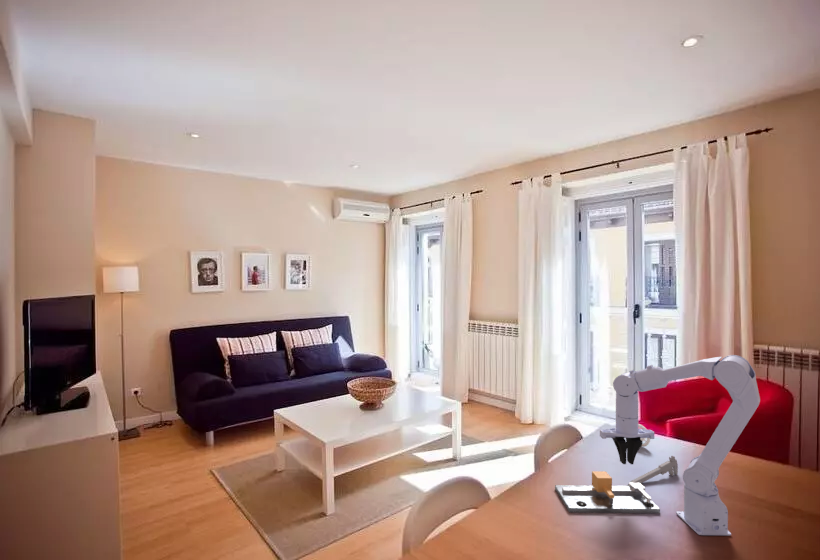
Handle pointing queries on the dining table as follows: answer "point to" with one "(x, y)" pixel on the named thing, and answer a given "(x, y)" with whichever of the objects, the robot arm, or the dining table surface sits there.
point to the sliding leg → (603, 483)
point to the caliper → (659, 471)
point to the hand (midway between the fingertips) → (626, 462)
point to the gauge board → (606, 499)
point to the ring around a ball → (644, 438)
